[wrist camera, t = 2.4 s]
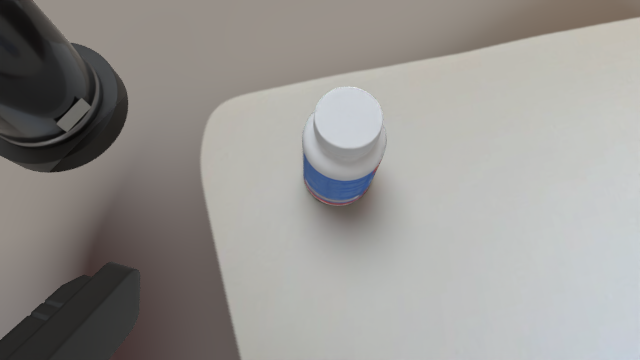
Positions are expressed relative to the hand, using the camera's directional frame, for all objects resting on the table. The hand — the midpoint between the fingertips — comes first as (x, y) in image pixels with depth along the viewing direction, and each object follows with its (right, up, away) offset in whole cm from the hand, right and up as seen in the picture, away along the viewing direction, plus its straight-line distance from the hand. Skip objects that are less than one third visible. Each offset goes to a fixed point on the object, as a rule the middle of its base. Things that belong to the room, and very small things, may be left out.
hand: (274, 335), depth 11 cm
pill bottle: (+3, +5, +22) cm, 22 cm away
